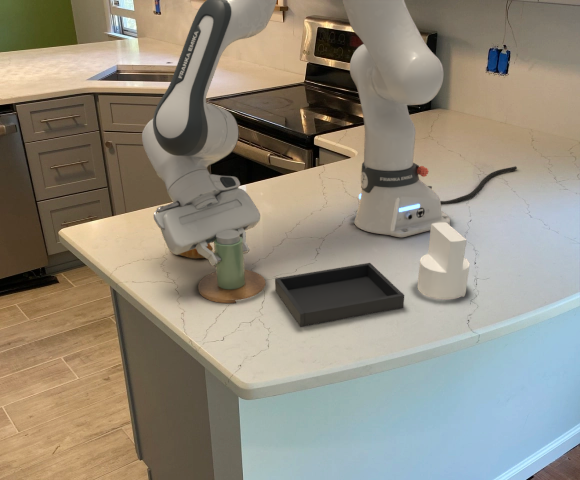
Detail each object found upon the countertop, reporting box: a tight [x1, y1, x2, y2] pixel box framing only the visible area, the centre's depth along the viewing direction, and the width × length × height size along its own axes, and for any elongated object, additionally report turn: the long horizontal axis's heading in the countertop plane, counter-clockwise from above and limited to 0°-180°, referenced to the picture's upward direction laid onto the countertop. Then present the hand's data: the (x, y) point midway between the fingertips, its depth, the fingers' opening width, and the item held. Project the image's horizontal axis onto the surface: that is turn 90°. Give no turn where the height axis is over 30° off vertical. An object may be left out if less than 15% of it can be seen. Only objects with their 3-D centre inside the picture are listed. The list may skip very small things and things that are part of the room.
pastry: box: [178, 243, 214, 259], centre depth 135 cm, size 9×7×4 cm
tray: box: [274, 262, 405, 328], centre depth 115 cm, size 20×15×3 cm
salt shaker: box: [213, 230, 246, 289], centre depth 118 cm, size 5×5×10 cm
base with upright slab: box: [417, 222, 471, 301], centre depth 115 cm, size 9×9×12 cm
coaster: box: [197, 269, 266, 304], centre depth 121 cm, size 13×13×1 cm
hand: (231, 258), depth 118 cm, fingers closed on salt shaker, 5 cm apart
